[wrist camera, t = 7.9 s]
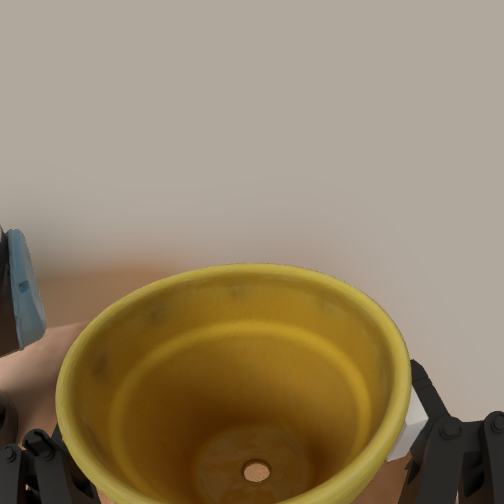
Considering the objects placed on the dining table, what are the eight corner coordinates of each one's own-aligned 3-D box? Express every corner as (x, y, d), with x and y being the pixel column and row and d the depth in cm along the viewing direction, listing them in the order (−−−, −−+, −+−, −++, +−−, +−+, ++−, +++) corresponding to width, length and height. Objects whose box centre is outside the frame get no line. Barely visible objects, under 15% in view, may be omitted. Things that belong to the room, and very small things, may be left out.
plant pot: (341, 393, 16) (355, 247, 12) (371, 549, 7) (477, 481, 3) (175, 403, 17) (122, 269, 13) (144, 550, 8) (-2, 464, 4)
